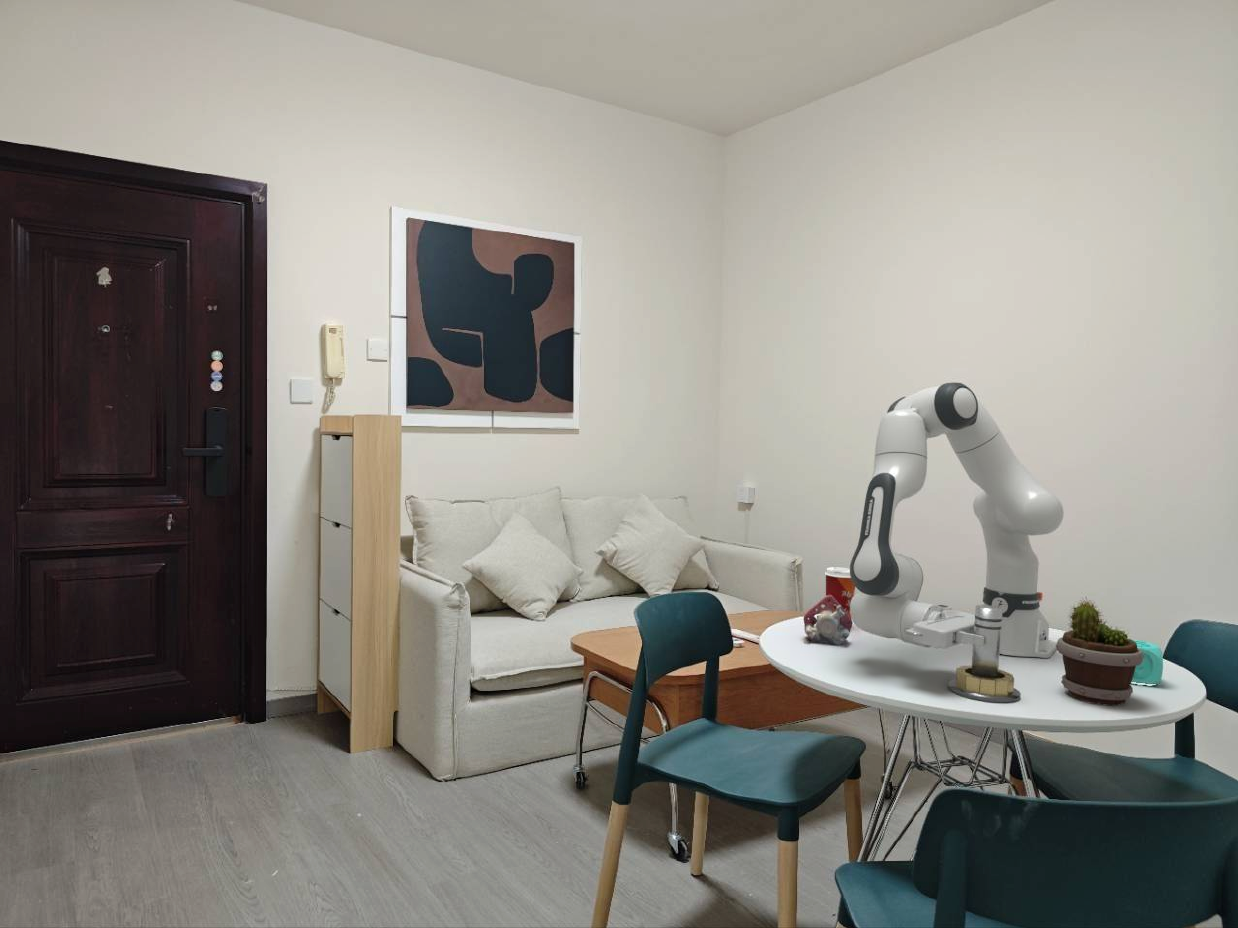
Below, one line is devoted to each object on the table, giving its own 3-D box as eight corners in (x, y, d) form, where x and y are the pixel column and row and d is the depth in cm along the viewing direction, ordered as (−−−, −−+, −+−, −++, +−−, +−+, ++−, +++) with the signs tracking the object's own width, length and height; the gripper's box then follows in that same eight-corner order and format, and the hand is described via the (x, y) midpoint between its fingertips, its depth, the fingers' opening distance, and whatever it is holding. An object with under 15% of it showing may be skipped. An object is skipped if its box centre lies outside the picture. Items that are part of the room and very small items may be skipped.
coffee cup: (849, 633, 213) (852, 573, 212) (817, 627, 217) (820, 569, 216) (858, 627, 220) (862, 569, 219) (827, 622, 224) (830, 565, 224)
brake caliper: (852, 627, 209) (854, 593, 201) (850, 663, 200) (852, 629, 193) (804, 622, 212) (804, 589, 204) (801, 657, 203) (801, 624, 196)
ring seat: (966, 678, 176) (967, 660, 176) (1031, 694, 167) (1032, 675, 167) (936, 689, 167) (937, 670, 167) (1003, 707, 158) (1004, 687, 158)
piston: (977, 678, 171) (982, 603, 170) (1001, 684, 167) (1007, 608, 166) (966, 682, 167) (970, 606, 167) (991, 688, 164) (996, 611, 163)
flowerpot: (1108, 686, 175) (1115, 590, 174) (1157, 711, 160) (1165, 605, 159) (1038, 684, 175) (1045, 587, 174) (1080, 708, 159) (1088, 602, 158)
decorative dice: (1152, 678, 183) (1155, 641, 183) (1161, 688, 176) (1164, 650, 175) (1110, 673, 186) (1112, 637, 186) (1117, 683, 178) (1119, 645, 178)
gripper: (899, 615, 169) (968, 629, 159) (948, 604, 183) (1014, 616, 173) (897, 646, 169) (966, 663, 159) (946, 633, 183) (1011, 647, 173)
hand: (991, 638), depth 166 cm, fingers closed on piston, 5 cm apart
